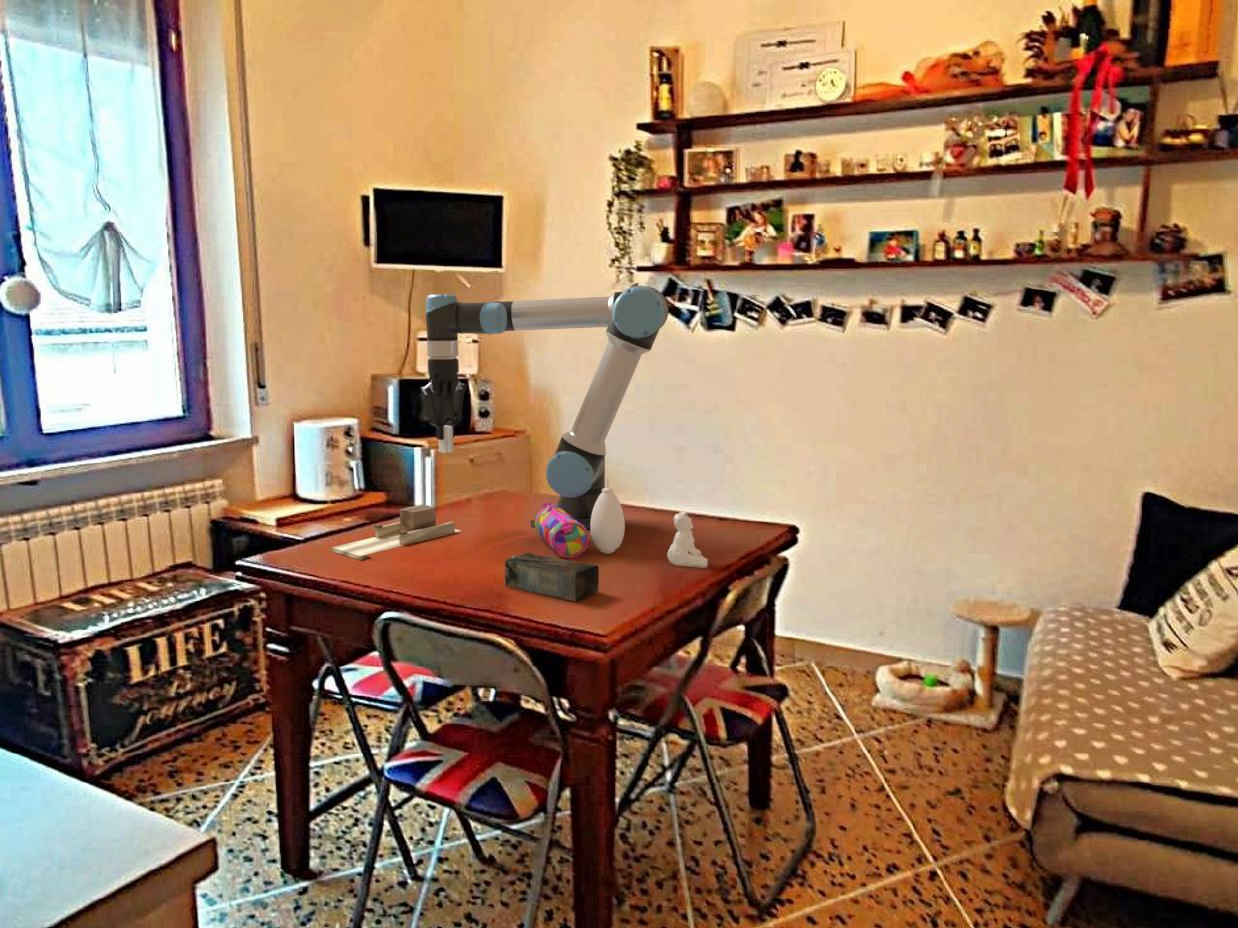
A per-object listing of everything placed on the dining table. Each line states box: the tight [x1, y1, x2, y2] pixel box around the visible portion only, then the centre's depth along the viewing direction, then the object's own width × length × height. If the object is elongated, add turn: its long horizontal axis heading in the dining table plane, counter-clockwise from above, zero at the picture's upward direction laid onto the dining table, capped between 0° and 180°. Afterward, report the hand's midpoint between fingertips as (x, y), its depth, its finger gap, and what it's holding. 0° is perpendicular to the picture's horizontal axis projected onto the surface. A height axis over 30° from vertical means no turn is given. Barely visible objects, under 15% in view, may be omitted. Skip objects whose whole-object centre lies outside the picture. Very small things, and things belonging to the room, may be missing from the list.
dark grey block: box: [504, 552, 600, 603], centre depth 194 cm, size 8×19×7 cm, turn 56°
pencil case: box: [530, 501, 590, 559], centre depth 226 cm, size 22×9×9 cm, turn 19°
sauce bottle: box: [589, 477, 626, 555], centre depth 220 cm, size 8×8×18 cm
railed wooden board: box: [331, 521, 462, 561], centre depth 230 cm, size 12×30×4 cm, turn 140°
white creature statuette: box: [666, 510, 709, 569], centre depth 212 cm, size 10×9×12 cm
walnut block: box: [399, 504, 437, 532], centre depth 234 cm, size 5×7×6 cm
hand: (446, 451), depth 238 cm, fingers closed
